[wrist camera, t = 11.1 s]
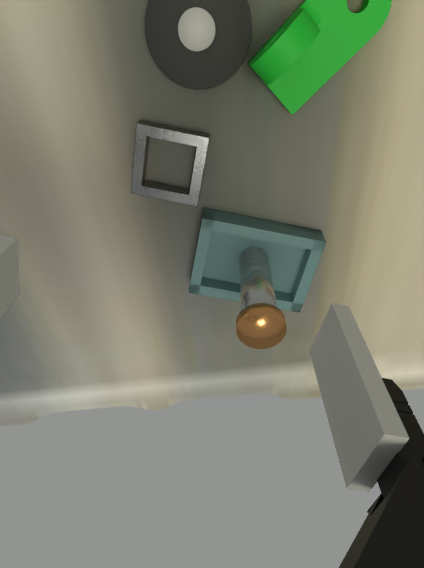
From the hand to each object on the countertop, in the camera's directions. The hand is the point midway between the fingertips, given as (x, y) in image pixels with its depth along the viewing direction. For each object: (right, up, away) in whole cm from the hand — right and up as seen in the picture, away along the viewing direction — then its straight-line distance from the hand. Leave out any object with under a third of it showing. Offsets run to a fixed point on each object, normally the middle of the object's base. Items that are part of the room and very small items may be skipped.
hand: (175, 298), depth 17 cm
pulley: (+1, +23, +19) cm, 30 cm away
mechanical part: (+11, +23, +19) cm, 32 cm away
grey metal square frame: (-3, +13, +25) cm, 29 cm away
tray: (+6, +4, +31) cm, 31 cm away
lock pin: (+6, +3, +30) cm, 31 cm away
